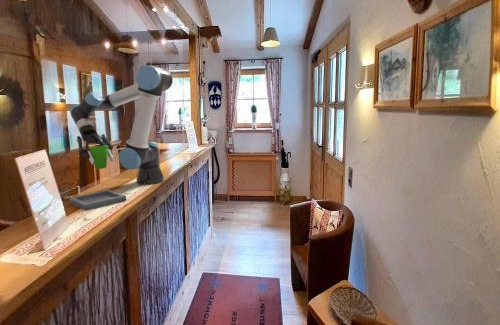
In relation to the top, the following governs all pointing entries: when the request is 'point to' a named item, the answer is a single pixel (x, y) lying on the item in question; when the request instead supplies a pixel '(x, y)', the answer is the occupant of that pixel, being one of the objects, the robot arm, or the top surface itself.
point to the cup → (99, 156)
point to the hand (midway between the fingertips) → (102, 161)
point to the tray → (97, 199)
